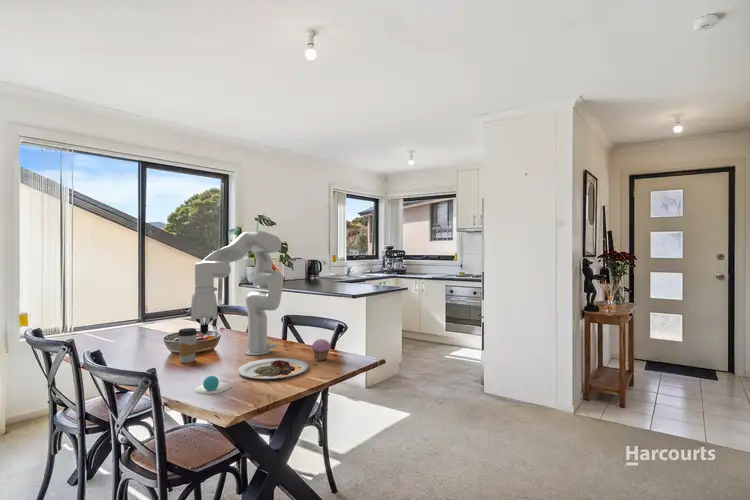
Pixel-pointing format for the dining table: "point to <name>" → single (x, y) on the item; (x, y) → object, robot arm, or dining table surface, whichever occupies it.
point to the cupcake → (321, 349)
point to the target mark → (220, 388)
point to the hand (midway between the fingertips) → (204, 333)
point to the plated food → (271, 368)
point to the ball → (210, 383)
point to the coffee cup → (187, 344)
